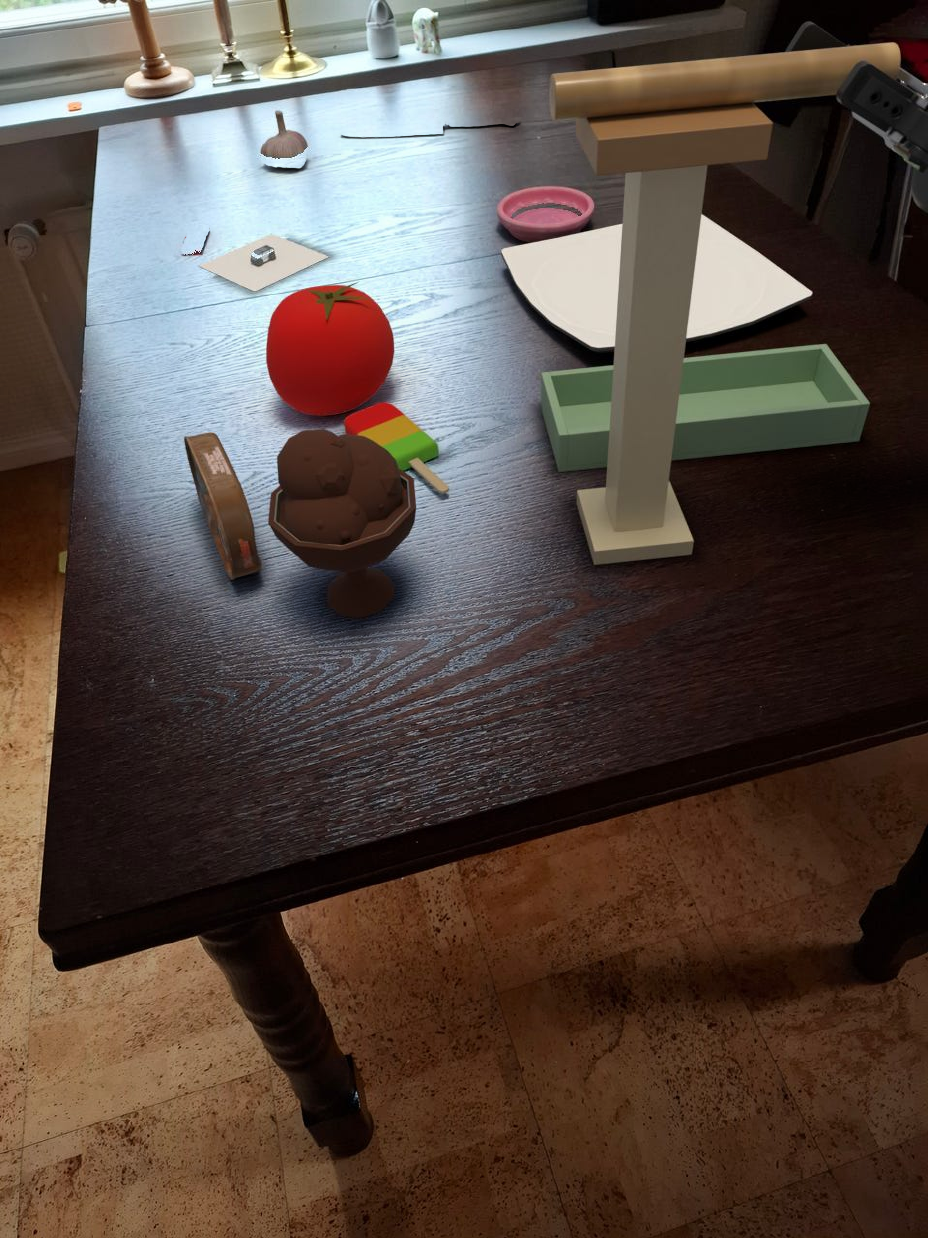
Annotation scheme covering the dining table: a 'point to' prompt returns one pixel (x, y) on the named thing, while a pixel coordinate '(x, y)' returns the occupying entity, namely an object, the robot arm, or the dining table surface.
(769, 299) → the plate
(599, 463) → the tray
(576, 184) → the dining table surface
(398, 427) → the popsicle
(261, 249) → the beige placemat
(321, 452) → the ice cream bowl
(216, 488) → the tin
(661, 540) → the stand
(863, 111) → the robot arm
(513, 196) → the saucer
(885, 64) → the wooden rod
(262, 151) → the garlic bulb
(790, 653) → the dining table surface
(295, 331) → the tomato
